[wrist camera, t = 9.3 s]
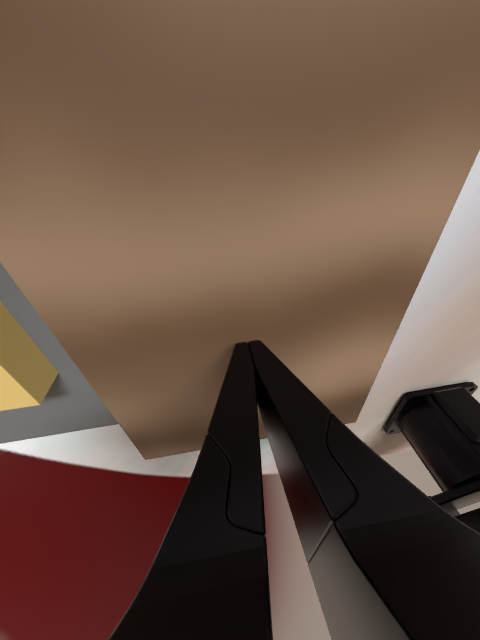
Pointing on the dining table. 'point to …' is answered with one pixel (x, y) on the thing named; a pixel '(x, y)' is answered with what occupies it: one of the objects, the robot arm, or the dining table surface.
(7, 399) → the yellow flat block
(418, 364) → the dining table surface
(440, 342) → the dining table surface
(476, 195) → the dining table surface
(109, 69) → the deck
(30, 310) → the mat
